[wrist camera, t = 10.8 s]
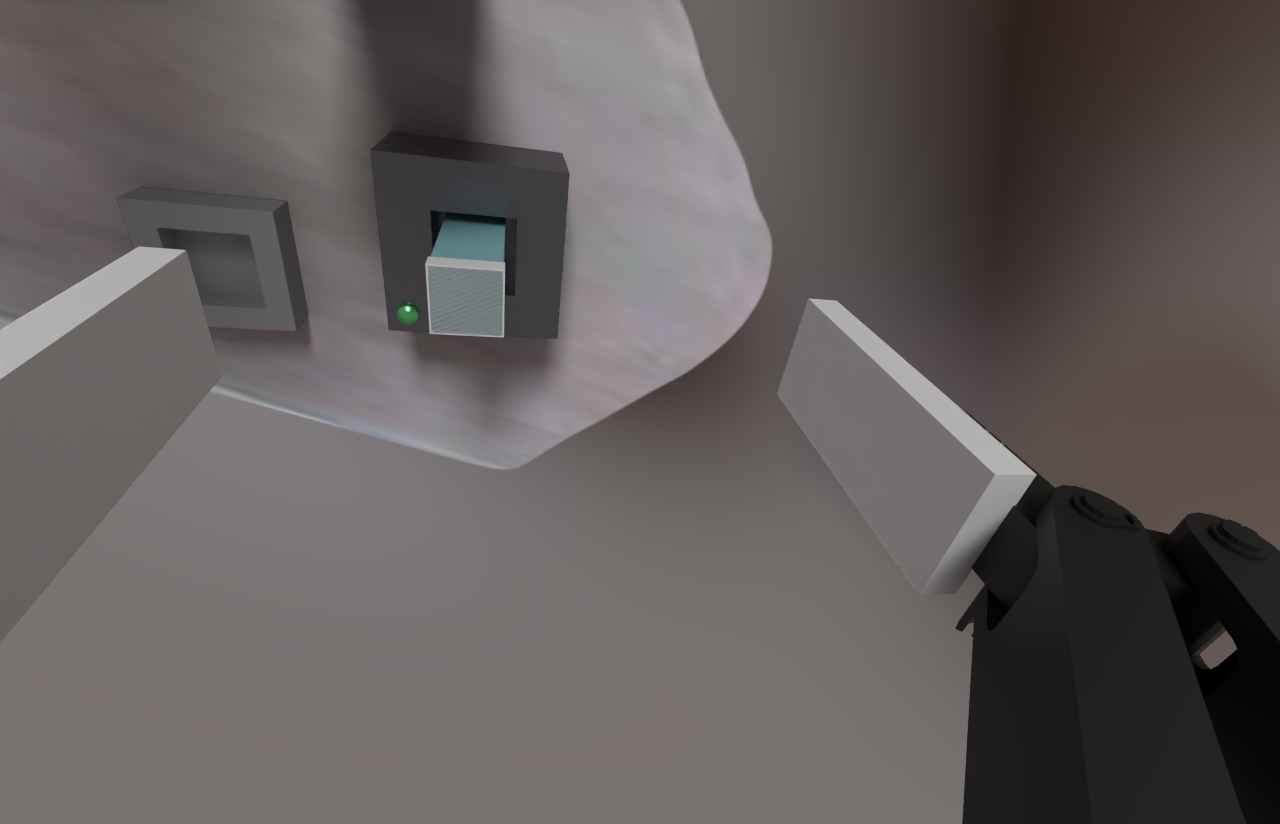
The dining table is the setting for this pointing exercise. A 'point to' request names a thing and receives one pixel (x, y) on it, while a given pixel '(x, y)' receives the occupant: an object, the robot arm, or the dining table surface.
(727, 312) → the dining table surface
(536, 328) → the port
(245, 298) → the square frame socket
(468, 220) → the plug
